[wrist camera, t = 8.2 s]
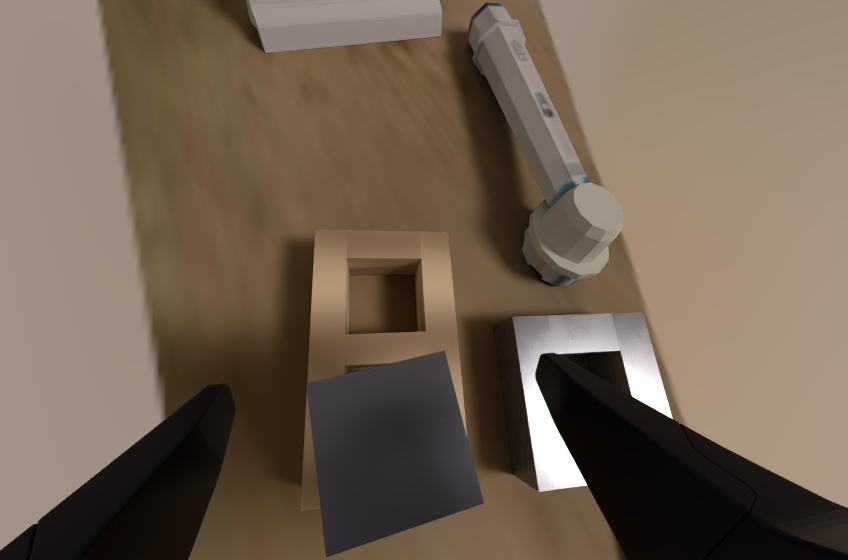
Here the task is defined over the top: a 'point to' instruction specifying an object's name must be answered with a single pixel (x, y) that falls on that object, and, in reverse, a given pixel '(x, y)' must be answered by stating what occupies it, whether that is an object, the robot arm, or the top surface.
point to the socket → (610, 361)
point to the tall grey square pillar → (389, 450)
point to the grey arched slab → (341, 22)
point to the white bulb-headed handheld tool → (545, 158)
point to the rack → (342, 350)
